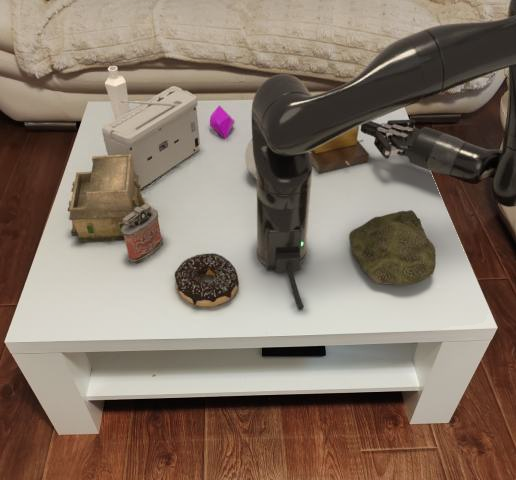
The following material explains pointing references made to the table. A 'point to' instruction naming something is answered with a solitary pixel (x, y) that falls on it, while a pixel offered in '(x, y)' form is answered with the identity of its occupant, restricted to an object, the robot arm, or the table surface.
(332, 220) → the table surface
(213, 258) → the donut
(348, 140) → the tan wooden flat block
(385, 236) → the decorative rock
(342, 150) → the panel
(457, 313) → the table surface
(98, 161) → the miniature house
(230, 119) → the crystal
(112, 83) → the perfume bottle
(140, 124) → the radio
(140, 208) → the lighter
